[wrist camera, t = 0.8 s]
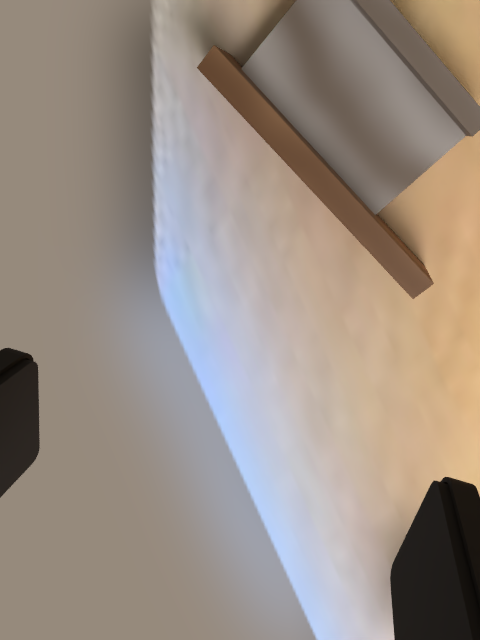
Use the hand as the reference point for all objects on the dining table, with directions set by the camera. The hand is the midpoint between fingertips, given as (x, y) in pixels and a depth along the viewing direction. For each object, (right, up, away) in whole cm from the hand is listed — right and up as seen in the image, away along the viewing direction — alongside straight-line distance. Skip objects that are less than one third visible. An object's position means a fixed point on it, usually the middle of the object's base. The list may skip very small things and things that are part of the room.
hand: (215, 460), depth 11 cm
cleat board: (+9, +16, +20) cm, 27 cm away
